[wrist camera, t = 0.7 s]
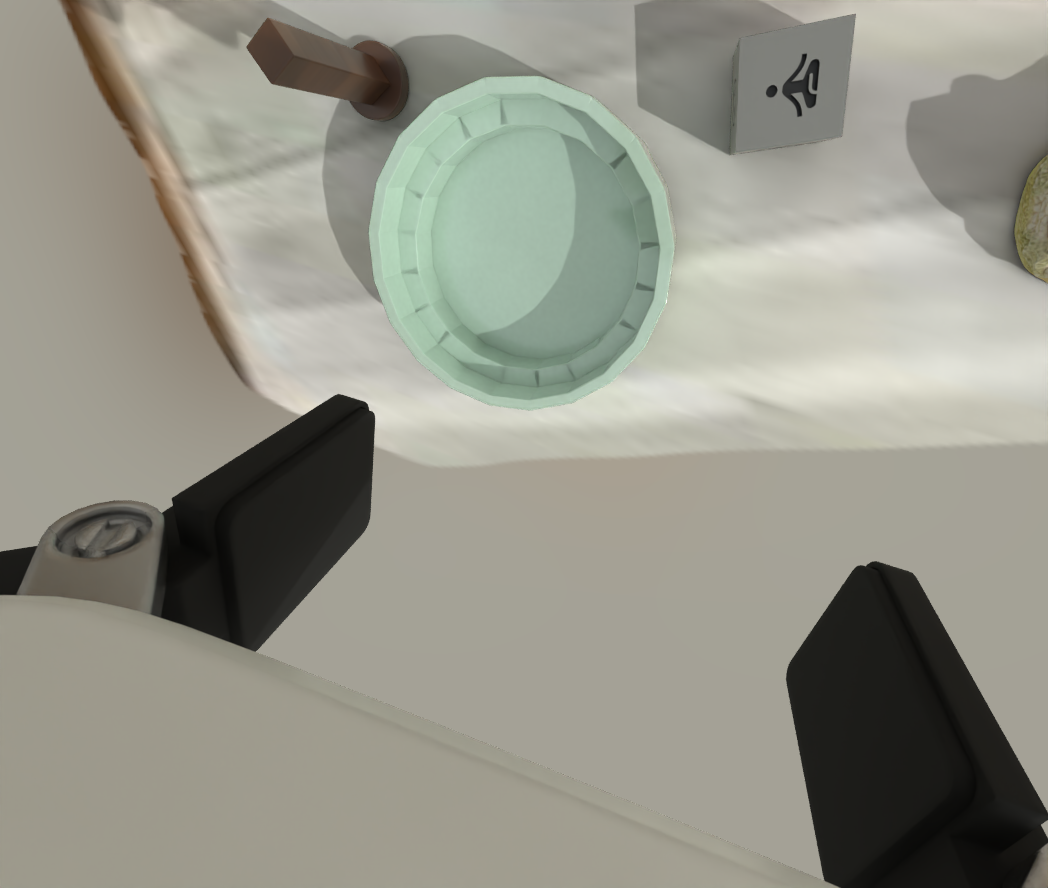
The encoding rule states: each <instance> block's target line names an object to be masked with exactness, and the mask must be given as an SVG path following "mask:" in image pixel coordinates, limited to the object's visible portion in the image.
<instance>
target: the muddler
mask: <svg viewBox="0 0 1048 888" xmlns="http://www.w3.org/2000/svg"><path fill="white" fill-rule="evenodd" d="M247 49H248V51H249V52H250V54H251V55H252V57H253V58H254V59H255V61H256V62H257V64H258V65H259V67H260V68H261V70H262V71H263V72H264V74H265V75H266V77H267V78H268V80H269V81H270V83H271V84H274V85H278V86H283V87H288V88H292V89H297V90H302V91H307V92H311V93H316V94H321V95H325V96H330V97H335V98H339V99H344V100H349V101H350V103H351V104H352V106H353V107H354V108H355V109H356V110H357V112H359V113H360V114H361V115H363V116H364V117H366V118H368V119H372V120H378V121H386V120H390V119H392V118H394V117H395V116H397V115H398V114H399V113H400V111H401V110H402V109H403V107H404V105H405V103H406V100H407V96H408V76H407V72H406V69H405V66H404V64H403V62H402V60H401V59H400V57H399V56H398V54H397V53H396V52H395V51H394V50H392V49H391V48H390V47H388V46H386V45H384V44H381V43H379V42H376V41H370V40H369V41H363V42H361V43H359V44H357V45H356V46H354V47H353V48H349V47H347V46H344V45H341V44H339V43H336V42H333V41H330V40H328V39H325V38H322V37H320V36H317V35H314V34H311V33H309V32H306V31H303V30H301V29H298V28H295V27H292V26H290V25H287V24H284V23H282V22H279V21H276V20H273V19H271V18H267V19H266V20H265V22H264V23H263V25H262V26H261V27H260V29H259V30H258V31H257V33H256V34H255V36H254V37H253V38H252V40H251V41H250V42H249V44H248V45H247Z"/></svg>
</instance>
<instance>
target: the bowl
mask: <svg viewBox="0 0 1048 888" xmlns="http://www.w3.org/2000/svg"><path fill="white" fill-rule="evenodd" d="M667 187H668V186H667V184H666V182H665V181H664V179H663V177H662V175H661V173H660V171H659V169H658V167H657V165H656V164H655V162H654V160H653V158H652V156H651V154H650V152H649V150H648V148H647V147H646V145H645V143H644V142H643V140H642V139H641V138H640V137H638V136H637V135H636V134H635V133H634V132H633V131H632V130H631V129H630V128H629V127H628V126H626V125H625V124H624V123H623V122H622V121H621V120H620V119H619V118H618V117H617V116H616V115H614V114H613V113H612V112H611V111H610V110H609V109H608V108H607V107H605V106H604V105H603V104H602V103H600V102H599V101H598V100H597V99H595V98H594V97H592V96H591V95H588V94H586V93H583V92H580V91H578V90H575V89H573V88H570V87H568V86H565V85H562V84H560V83H557V82H555V81H552V80H549V79H547V78H544V77H542V76H502V77H485V78H481V79H479V80H477V81H474V82H472V83H470V84H468V85H465V86H463V87H461V88H459V89H456V90H454V91H452V92H449V93H447V94H445V95H443V96H440V97H438V98H437V99H435V100H434V101H433V102H432V103H431V104H430V105H429V106H428V107H427V108H426V109H425V110H424V111H423V112H422V113H421V114H420V115H419V116H418V117H417V118H416V119H415V120H414V121H413V122H412V123H411V124H410V125H409V126H408V127H407V128H406V129H405V130H404V131H403V132H402V133H401V134H400V136H399V137H398V139H397V141H396V143H395V145H394V147H393V149H392V151H391V153H390V155H389V157H388V159H387V161H386V163H385V165H384V167H383V169H382V171H381V173H380V175H379V177H378V179H377V182H376V187H375V193H374V199H373V205H372V212H371V218H370V224H369V231H368V234H369V243H370V252H371V261H372V269H373V278H374V282H375V285H376V287H377V290H378V292H379V295H380V297H381V300H382V303H383V305H384V308H385V310H386V313H387V316H388V318H389V321H390V323H391V325H392V326H393V328H394V329H395V330H396V332H397V333H398V335H399V336H400V337H401V339H402V340H403V342H404V343H405V344H406V346H407V347H408V349H409V350H410V351H411V353H412V354H413V355H414V357H415V358H416V360H417V361H418V362H419V363H421V364H422V365H423V366H424V367H426V368H427V369H428V370H429V371H430V372H432V373H433V374H434V375H435V376H436V377H438V378H439V379H440V380H441V381H443V382H444V383H445V384H446V385H447V386H449V387H450V388H452V389H454V390H456V391H458V392H461V393H463V394H465V395H467V396H470V397H472V398H474V399H476V400H479V401H481V402H483V403H485V404H488V405H491V406H499V407H507V408H514V409H522V410H536V409H542V408H548V407H553V406H559V405H565V404H570V403H573V402H575V401H577V400H579V399H581V398H583V397H585V396H587V395H589V394H590V393H592V392H594V391H596V390H598V389H600V388H602V387H604V386H606V385H607V384H609V383H611V382H612V381H613V380H614V379H615V378H616V377H617V376H618V375H619V374H620V373H621V372H622V371H623V370H624V369H625V368H626V367H627V366H628V365H629V364H630V363H631V362H632V361H633V360H634V359H635V357H636V356H637V355H638V354H639V353H640V352H641V351H642V350H643V349H644V348H645V346H646V344H647V342H648V340H649V338H650V336H651V334H652V331H653V329H654V327H655V325H656V323H657V321H658V319H659V317H660V315H661V313H662V311H663V309H664V307H665V305H666V302H667V298H668V292H669V286H670V280H671V273H672V266H673V259H674V252H675V245H676V232H675V226H674V220H673V214H672V208H671V202H670V196H669V190H668V188H667Z"/></svg>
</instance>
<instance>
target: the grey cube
mask: <svg viewBox="0 0 1048 888" xmlns="http://www.w3.org/2000/svg"><path fill="white" fill-rule="evenodd" d="M855 17H856V14H852V15H847V16H842V17H838V18H833V19H828V20H823V21H818V22H814V23H809V24H804V25H799V26H795V27H790V28H785V29H780V30H776V31H771V32H766V33H761V34H757V35H752V36H747V37H742V38H740V40H739V42H738V45H737V48H736V50H735V53H734V56H733V70H732V99H731V129H730V155H735V154H742V153H749V152H755V151H762V150H769V149H775V148H782V147H789V146H796V145H802V144H809V143H816V142H822V141H826V140H830V139H834V138H839V137H842V132H843V123H844V114H845V105H846V96H847V88H848V79H849V70H850V61H851V52H852V43H853V34H854V26H855Z"/></svg>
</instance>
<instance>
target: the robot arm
mask: <svg viewBox="0 0 1048 888" xmlns="http://www.w3.org/2000/svg"><path fill="white" fill-rule="evenodd" d="M374 432H375V415H374V413H373V412H372V411H369V407H368V404H367V403H366V402H364V401H360V400H357V399H354V398H351V397H348V396H344V395H341V394H337V395H335V396H333V397H332V398H330V399H328V400H327V401H325V402H324V403H322V404H320V405H319V406H317V407H316V408H314V409H313V410H311V411H309V412H308V413H306V414H305V415H303V416H301V417H300V418H298V419H297V420H295V421H294V422H292V423H290V424H289V425H287V426H286V427H284V428H282V429H281V430H279V431H278V432H276V433H275V434H273V435H271V436H270V437H268V438H267V439H265V440H263V441H262V442H260V443H259V444H257V445H256V446H254V447H252V448H251V449H249V450H247V451H246V452H244V453H243V454H241V455H240V456H238V457H236V458H235V459H233V460H232V461H230V462H228V463H227V464H225V465H224V466H222V467H221V468H219V469H217V470H216V471H214V472H213V473H211V474H209V475H208V476H206V477H205V478H203V479H202V480H200V481H199V482H197V483H195V484H194V485H192V486H190V487H189V488H187V489H186V490H184V491H182V492H181V493H179V494H178V495H176V496H175V497H173V498H172V502H173V506H172V507H170V508H169V509H167V510H166V511H164V512H163V513H161V512H160V511H159V510H158V509H157V508H155V507H153V506H151V505H149V504H147V503H143V502H137V501H109V502H104V503H97V504H93V505H90V506H87V507H84V508H81V509H78V510H75V511H73V512H71V513H69V514H67V515H65V516H63V517H61V518H60V519H59V520H57V521H56V522H55V523H54V524H52V525H51V526H49V528H48V529H47V530H46V532H45V533H44V534H43V536H42V537H41V539H40V541H39V544H38V546H34V547H27V548H21V549H14V550H9V551H2V552H0V888H1048V838H1047V836H1046V834H1045V832H1044V830H1043V828H1042V827H1041V824H1043V823H1044V822H1045V821H1047V820H1048V812H1047V810H1046V809H1045V807H1044V805H1043V803H1042V801H1041V800H1040V798H1039V796H1038V794H1037V792H1036V791H1035V789H1034V787H1033V785H1032V784H1031V782H1030V780H1029V778H1028V776H1027V775H1026V773H1025V771H1024V769H1023V767H1022V766H1021V764H1020V762H1019V761H1018V758H1017V757H1016V755H1015V753H1014V751H1013V750H1012V748H1011V746H1010V744H1009V742H1008V741H1007V739H1006V737H1005V735H1004V734H1003V732H1002V730H1001V728H1000V727H999V724H998V723H997V721H996V719H995V717H994V716H993V714H992V712H991V710H990V708H989V707H988V705H987V703H986V701H985V700H984V698H983V696H982V694H981V692H980V691H979V689H978V687H977V685H976V683H975V682H974V680H973V678H972V676H971V674H970V673H969V671H968V669H967V667H966V665H965V664H964V662H963V660H962V659H961V657H960V655H959V653H958V651H957V649H956V648H955V646H954V644H953V642H952V640H951V639H950V637H949V635H948V633H947V632H946V630H945V628H944V626H943V624H942V623H941V621H940V619H939V617H938V615H937V614H936V612H935V610H934V609H933V607H932V605H931V603H930V601H929V599H928V598H927V596H926V594H925V592H924V590H923V589H922V587H921V585H920V583H919V581H918V580H917V578H916V577H915V575H914V574H913V573H911V572H909V571H906V570H902V569H899V568H896V567H893V566H890V565H886V564H883V563H880V562H877V561H875V562H871V563H869V564H868V565H867V566H866V567H865V566H861V565H860V566H857V567H856V568H855V569H854V570H853V571H852V572H851V574H850V575H849V577H848V578H847V580H846V581H845V583H844V584H843V585H842V587H841V588H840V590H839V591H838V593H837V594H836V596H835V597H834V599H833V600H832V602H831V603H830V604H829V606H828V608H827V609H826V611H825V612H824V613H823V615H822V616H821V618H820V619H819V621H818V622H817V624H816V625H815V626H814V628H813V629H812V631H811V632H810V634H809V635H808V637H807V638H806V640H805V641H804V642H803V644H802V645H801V647H800V649H799V650H798V651H797V653H796V654H795V656H794V657H793V659H792V660H791V662H790V664H789V666H788V669H787V676H786V681H787V688H788V693H789V698H790V704H791V709H792V714H793V719H794V725H795V730H796V735H797V740H798V746H799V751H800V756H801V761H802V767H803V772H804V777H805V782H806V788H807V793H808V798H809V803H810V809H811V813H812V819H813V824H814V830H815V835H816V840H817V846H818V851H819V856H820V861H821V866H822V872H823V876H824V880H825V881H823V880H821V879H818V878H816V877H813V876H811V875H809V874H806V873H804V872H802V871H799V870H796V869H794V868H792V867H789V866H787V865H784V864H782V863H780V862H777V861H775V860H772V859H770V858H767V857H765V856H762V855H760V854H758V853H755V852H753V851H750V850H748V849H745V848H743V847H740V846H738V845H735V844H733V843H731V842H728V841H726V840H723V839H721V838H718V837H716V836H714V835H711V834H708V833H706V832H704V831H701V830H699V829H696V828H694V827H691V826H689V825H687V824H684V823H682V822H679V821H677V820H674V819H672V818H670V817H667V816H665V815H662V814H660V813H657V812H655V811H652V810H650V809H647V808H645V807H643V806H640V805H637V804H635V803H633V802H630V801H628V800H625V799H623V798H620V797H618V796H615V795H613V794H611V793H608V792H606V791H603V790H601V789H598V788H596V787H593V786H591V785H588V784H586V783H583V782H581V781H578V780H576V779H573V778H571V777H568V776H566V775H564V774H561V773H559V772H556V771H554V770H551V769H549V768H546V767H543V766H541V765H539V764H536V763H534V762H531V761H529V760H526V759H524V758H521V757H519V756H516V755H514V754H511V753H509V752H506V751H504V750H501V749H499V748H496V747H494V746H492V745H489V744H486V743H484V742H481V741H479V740H476V739H474V738H472V737H469V736H466V735H464V734H462V733H459V732H457V731H454V730H451V729H449V728H446V727H444V726H442V725H439V724H437V723H434V722H432V721H429V720H426V719H424V718H421V717H419V716H416V715H414V714H412V713H409V712H407V711H404V710H402V709H399V708H396V707H394V706H391V705H389V704H386V703H383V702H381V701H378V700H376V699H374V698H371V697H369V696H366V695H364V694H361V693H359V692H356V691H353V690H351V689H349V688H346V687H343V686H341V685H338V684H336V683H333V682H331V681H328V680H326V679H323V678H320V677H318V676H316V675H313V674H311V673H308V672H306V671H303V670H301V669H298V668H295V667H293V666H290V665H288V664H285V663H283V662H280V661H278V660H275V659H273V658H270V657H267V656H264V655H262V654H259V653H257V652H256V651H257V650H258V649H259V648H260V647H261V646H262V644H263V643H264V642H265V641H266V640H267V639H268V638H269V636H270V635H271V634H272V633H273V632H274V631H275V630H276V629H277V628H278V627H279V625H280V624H281V623H282V622H283V621H284V620H285V619H286V618H287V617H288V616H289V614H290V613H291V612H292V611H293V610H294V609H295V608H296V606H298V605H299V604H300V602H301V601H302V600H303V599H304V598H305V597H306V596H307V594H308V593H309V592H310V591H311V590H312V589H313V588H314V587H315V586H316V585H317V583H318V582H319V581H320V580H321V579H322V578H323V577H324V576H325V575H326V574H327V572H328V571H329V570H330V569H331V568H332V567H333V566H334V565H335V564H336V563H337V561H338V560H339V559H340V558H341V557H342V556H343V555H344V554H345V553H346V551H347V550H348V549H349V548H350V547H351V546H352V545H353V544H354V543H355V542H356V540H357V539H358V538H359V537H360V536H361V535H362V534H363V532H364V531H365V529H366V528H367V526H368V523H369V520H370V512H371V491H372V472H373V452H374Z"/></svg>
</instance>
